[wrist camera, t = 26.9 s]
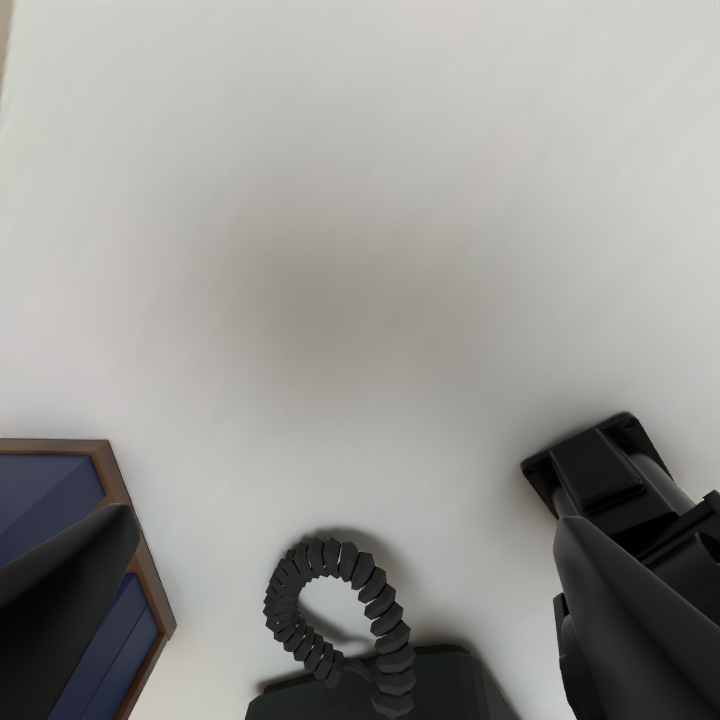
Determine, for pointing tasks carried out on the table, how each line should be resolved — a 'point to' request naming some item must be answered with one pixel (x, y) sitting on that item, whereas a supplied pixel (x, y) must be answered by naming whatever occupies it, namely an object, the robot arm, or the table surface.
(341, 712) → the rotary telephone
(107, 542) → the robot arm
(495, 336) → the table surface
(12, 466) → the navy book
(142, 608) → the navy books
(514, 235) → the table surface
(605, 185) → the table surface
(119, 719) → the book rack
